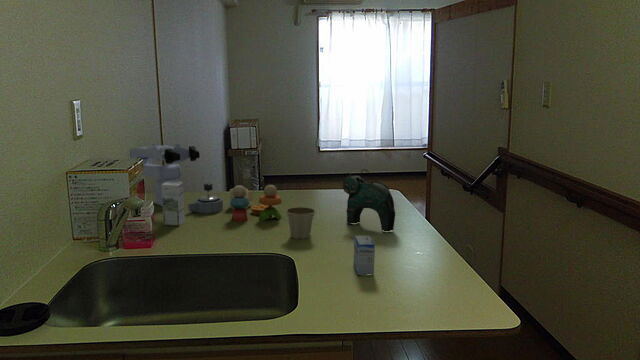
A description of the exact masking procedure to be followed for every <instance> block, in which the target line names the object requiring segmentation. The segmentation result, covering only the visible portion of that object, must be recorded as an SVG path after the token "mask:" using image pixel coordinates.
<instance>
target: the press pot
mask: <svg viewBox="0 0 640 360" xmlns="http://www.w3.org/2000/svg"><path fill="white" fill-rule="evenodd" d="M217 197H218V196H217ZM199 198H200V197H198V198H195V199H194V202H190V203H188V206H187V207H188V212H196V213H201V214H213V213H219V212H221V211H224V203H223V198H222V197H220V196H219V197H218V199H217V200H215V201H200V200H199Z"/></svg>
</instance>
